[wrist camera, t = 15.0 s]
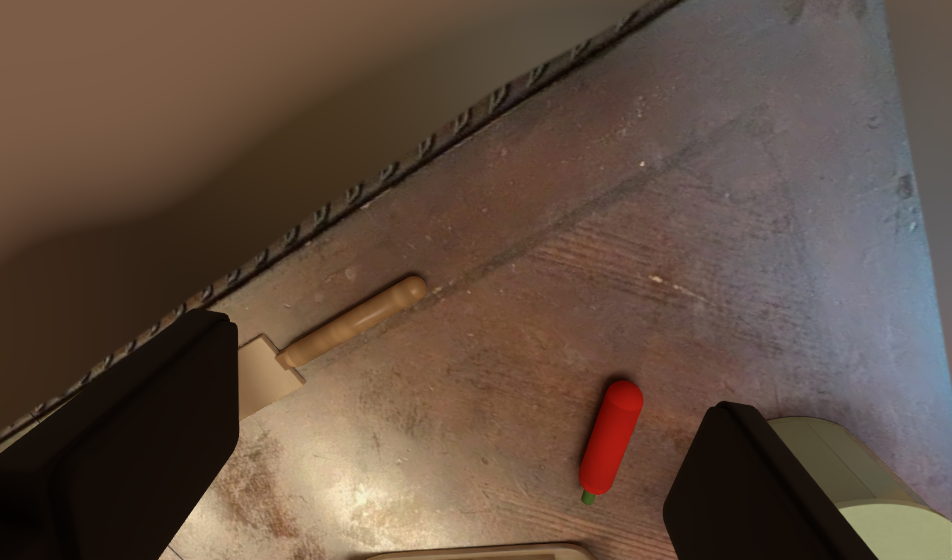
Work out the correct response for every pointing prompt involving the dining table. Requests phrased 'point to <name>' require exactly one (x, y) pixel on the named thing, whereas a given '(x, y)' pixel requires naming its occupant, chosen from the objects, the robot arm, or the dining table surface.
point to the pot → (841, 461)
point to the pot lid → (899, 528)
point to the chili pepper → (609, 438)
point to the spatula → (311, 347)
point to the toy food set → (497, 553)
